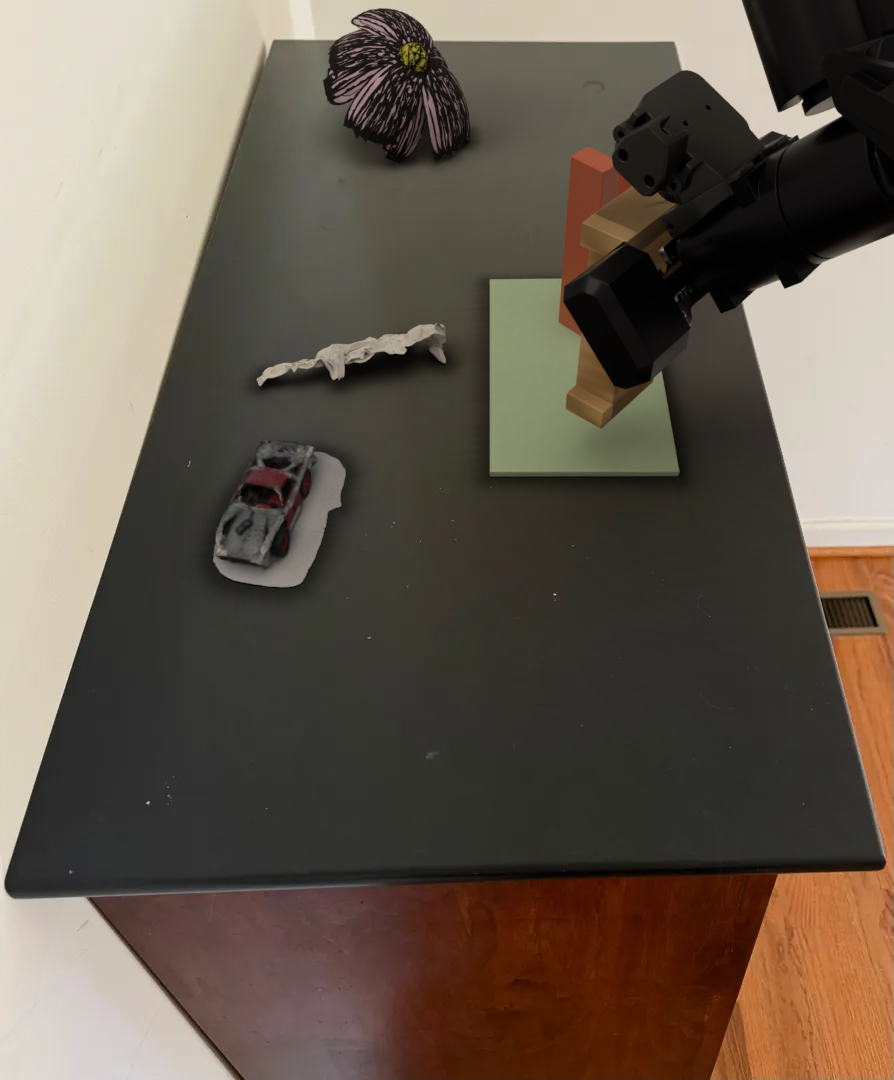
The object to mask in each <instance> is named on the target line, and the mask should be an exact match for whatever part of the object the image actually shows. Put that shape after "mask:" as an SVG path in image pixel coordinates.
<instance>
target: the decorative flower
mask: <svg viewBox="0 0 894 1080" xmlns="http://www.w3.org/2000/svg"><path fill="white" fill-rule="evenodd" d="M350 23H351V25H353V26H355V27H357V28H358V29H357V30H354V31H352V32H348V33H347V34H344V35H342V36H341V37H339V38H338V39H336V40H335V41H334V43H333V44H332V45H331V46H330V47H329V48H328V49H327V50H329V51H328V53H327V56H328V64H329V67H328V68H327V72H326V73H327V74H326V77H325V78H324V79H322V82H323V88H324V95H325V97H326V100H327V102H328V104H330V105H333V106H343V105H346V104H348V103H350V104H349V107H348V108H347V111H346V113H345V116H344V121H343V123H342V124H343V125H342V127H346V128H347V129H351V130H352V132H353V133H354V136H355V139H358V138H359V137H360V138H361V139H362V140H363V141H364V143H366V142H367V141H369V142H371V143H372V144H374V145H380V146H382V147H381V149H382V150H383V151H384V152H385V156H384V159H386V160H389V161H392V162H394V163H398V164H401V163H403V162H405V161H406V160H408V159H409V158H410V157H411V156H412V155H413V153H414V152H415V151H416V150H417V148H418V145H419V144H420V142H421V140H422V139H423V136H424V133H425V130H426V129H427V134H428V135H427V137H428V139H429V146H430V150H431V152H432V154H433V157H434V160H435V162H436V163H438V162H439V161H440V160H442V159H443V157H444V156H445V157H446V156H448V157H453V154H454V152H457V151H459V147H460V146H461V145H462V144H463V143H464V141H465V140H467V141H470V139H471V119H470V113H469V108H468V107H469V106H468V104H467V99H466V96H465V94H464V91H463V89H462V87H461V84H460V82H459V81H458V79H457V78H456V76H455V74H453V72H452V71H451V70H450V69H449V66H448V64H447V62H446V60H445V58H444V57H443V55H442V53H441V52H440V50H439V49H437V47H436V46H435V45H434V39H433V36H432V35H431V34H430V33H429V31H428V30H427V28H426V27H425V26H424V25H423V24H422V23H421V22H420V21H418V20H417V19H416V18H415V17H414V16H411V15H410V14H408V13H406V12H404V11H400V10H398V9H396V8H395V9H394V8H387V7H383V8H381V7H379V8H373V9H368V10H365V11H363V12H361V13H358V14H357V15H356V16H354V17H353V18H352V19H350Z"/></svg>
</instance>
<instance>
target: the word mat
mask: <svg viewBox="0 0 894 1080" xmlns="http://www.w3.org/2000/svg"><path fill="white" fill-rule="evenodd" d="M561 282H562V277H561V278H494V279H493V278H490V279H489V477H678V476H679V475H680V467H679V461H678V456H677V449H676V445H675V439H674V433H673V427H672V422H671V421H672V420H671V416H670V411H669V410H670V409H669V404H668V400H667V399H668V397H667V394H666V392H667V391H666V388H665V381H664V377H663V376H664V375H663V370H662V371H661V372H660V373H659V374H658V375H656V376H655V377H654V379H653V382H652V383H651V384H650V385H649V386H648V387H647V388H646V389H645V390H644V391H643V392H641V393H640V394H639V395H638V396H637V397H636V398H635V399H634V400H633V401H632V402H630V403H629V404H628V405H627V406H626V407H625V408H624V409H623V410H622V411H621V412H619V413H618V414H617V415H616V416H615V417H614V418H613V419H612V420H611V421H609V422H608V423H607V424H606V425H605V426H604V427H603V428H602V429H600V428H599V427H597V426H595V425H593V424H591V423H590V422H588V421H586V420H584V419H582V418H581V417H579V416H577V415H575V414H573V413H572V412H570V411H568V410H566V396H567V392H568V391H570V390H571V389H572V388H573V387H574V386H575V385H576V380H577V370H578V360H579V350H580V340H581V336H580V335H579V334H577V333H575V332H574V331H572V330H570V329H569V328H567V327H566V326H564V325H562V324H561V323H559V322H558V321H559V308H560V295H561Z"/></svg>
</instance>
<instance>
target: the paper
mask: <svg viewBox="0 0 894 1080" xmlns="http://www.w3.org/2000/svg"><path fill="white" fill-rule="evenodd" d="M421 341H422V342H424V343H425V344H427V346H429V347H428V351H429V353H431V354H432V355H433V356H434V357H435V358H436V359H437V361H439V362H441V363H443V364H447V358H446V356H445V353H447V351H446V349H445V348H444V347H443V344H446V343H447V336H446V327H445V326H444V324H443V323H440V322H435V324H431V323H427V324H419V325H417V326H414V327H413V328H411V329H409V330H408V331H407V333H400V334H398V333H395V334H393V333H386V334H383V335H382V336H380V337H379V338H378V339H377V338H375V337H372V336H368V337H366V338H365V339H364V340H359V341H355V342H352V343H348V344H347V343H346V344H345V343H331V345H329V346H328V347H324V348H322V349H321V350H319V351H317V353H316V356H315V357H314V359H313V358H311V359H309V358H303V359H300V360H297V361H295V362H283V363H277V364H275V365H274V366H269V367H267V368H266V369H264V371H263V372H262V374H261V376H259V377H257V378H256V381H257V384H258V386H259V387H262V385H263V384H264V383H265V382H266V380H267V379H275V378H276V377H281V376H282V375H284V374H286V373H287V372H288V371H290V370H291V371H292V372H293V373H295V372H296V371H297V369H300V370H302V371H303V373H306V372H308V370H312V369H320V368H324V367H325V368H326V369H327V370H328V371H329V374H330V378H331V380H332V381H335V380H336V379H338V381H340V380H341V379H343V378H344V377H345V374H346V373H345V372H346V370H345V367H346V366H345V365H350V364H353V363H358V364H362V363H366V362H367V361H368V360H370V359H371V358H372V357H373V356H374V355H375V354H376V353H380V352H385V353H387V354H388V355H394V354H397V355H405V353H406V352H407V351H408V349H407V348H406V347H411V346H413V345H414V344H416V343H417V342H421Z"/></svg>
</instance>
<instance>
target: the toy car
mask: <svg viewBox="0 0 894 1080" xmlns="http://www.w3.org/2000/svg"><path fill="white" fill-rule="evenodd" d="M252 454H253V455H252V457H251V459H250V461H249V462H248V464H247V467H246V468H245V470H244V473H243V474H242V478H241V479H240V481H239V482H238V484H237V486H236V488H235V492H234V493H233V494H232V497H231V499H230V501H229V503H228V504H227V507H226V508H225V510H224V512H223V515H222V517H221V518H220V519H219V520H218V522H217V524H216V527H215V529H214V538H215V539H214V540H215V544H214V547H213V549H214V550H213V553H212V556H213V558H212V559H213V560H212V562H213V563H214V564H215V567H216V568H217V570H218V571H219V573H220V574H221V575H222V576H224V577H226V578H227V579H230V580H232V581H235V582H240V583H245V584H249V585H250V584H251V585H254V586H255V585H257V586H263V587H270V588H272V587H276V588H280V589H281V588H290V587H293V588H294V587H295V586H298V585H301V584H302V583H303V582H304V580H305V578H306V576H307V574H308V573H309V569H310V568H311V567H312V565H313V563H314V561H315V560H316V556H317V554H318V551H319V549H320V546H321V545H322V541H323V537H324V536H325V535H324V532H326V530H325V528H327V523H328V521H327V520H328V514H329V512H330V511H333V510H335V509H337V508H340V507H342V501H341V500H342V498H341V496H342V495H341V494H342V490H343V488H344V486H345V479H346V478H347V477H346V476H347V473H346V467H344V464H342V462H341V461H340V460H339V458H336V457H334V456H332V455H329V454H328V453H326V452H322V451H316V447H315V446H313V445H309V444H307V445H303V444H301V443H299V442H298V441H295V440H294V441H291V440H284V439H282V440H281V439H277V440H270V439H269V438H262V439H261V440H260V442H259V444H258V445H257V447H255V450H254V452H253V453H252Z"/></svg>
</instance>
